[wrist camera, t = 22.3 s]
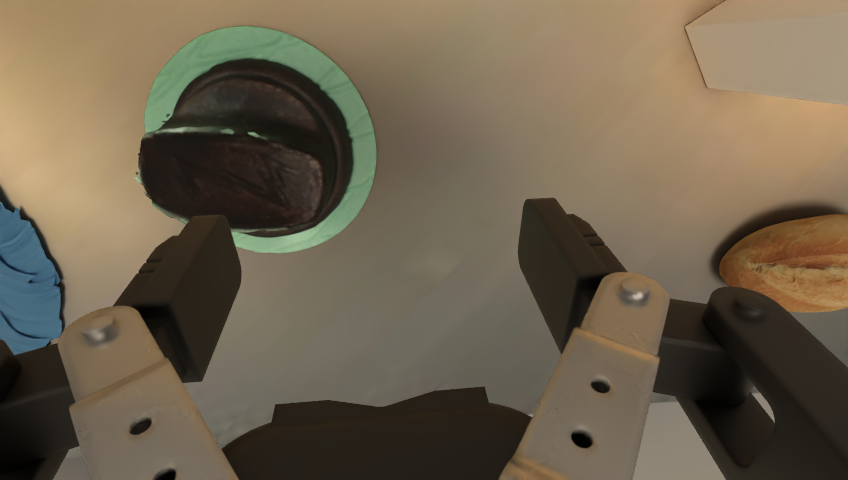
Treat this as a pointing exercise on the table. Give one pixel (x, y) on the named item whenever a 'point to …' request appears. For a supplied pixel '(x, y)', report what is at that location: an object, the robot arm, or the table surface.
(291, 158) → the chocolate cake
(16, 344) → the decorative plate
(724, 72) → the milk
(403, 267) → the table surface
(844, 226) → the bread roll
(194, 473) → the robot arm
